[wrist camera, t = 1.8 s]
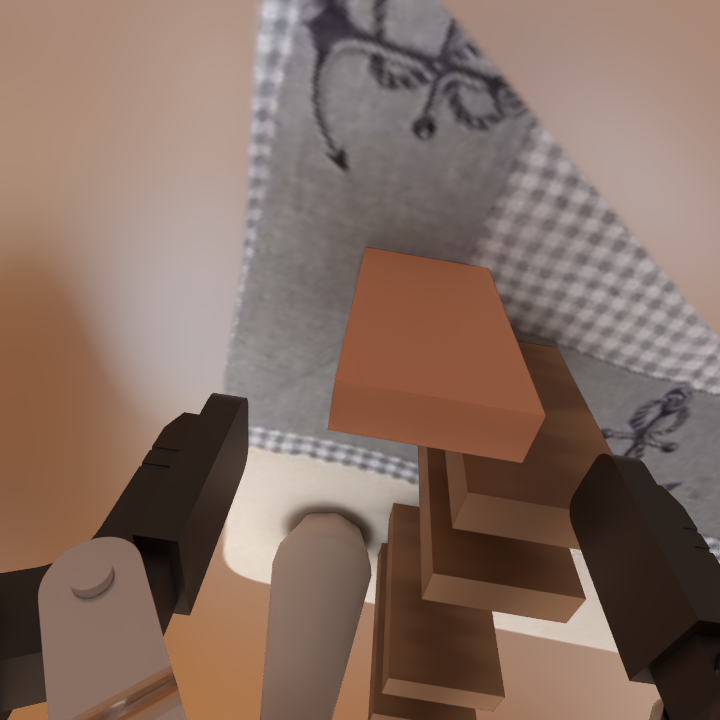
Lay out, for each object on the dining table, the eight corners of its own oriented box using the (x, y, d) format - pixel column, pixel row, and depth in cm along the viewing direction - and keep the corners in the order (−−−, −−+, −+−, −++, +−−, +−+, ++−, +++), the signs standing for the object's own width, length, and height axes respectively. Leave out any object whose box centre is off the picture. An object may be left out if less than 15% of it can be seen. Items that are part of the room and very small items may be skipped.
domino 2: (557, 347, 20) (648, 523, 12) (543, 376, 21) (620, 556, 13) (445, 328, 20) (468, 492, 12) (436, 358, 20) (452, 527, 13)
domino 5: (459, 556, 29) (477, 730, 21) (452, 570, 29) (468, 742, 22) (381, 543, 29) (372, 713, 21) (377, 557, 29) (367, 725, 22)
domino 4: (477, 517, 26) (505, 697, 19) (469, 533, 27) (493, 711, 20) (393, 503, 26) (388, 677, 19) (388, 520, 27) (381, 693, 20)
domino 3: (525, 415, 22) (585, 598, 14) (514, 439, 23) (565, 623, 15) (424, 398, 22) (433, 573, 14) (417, 423, 23) (422, 599, 15)
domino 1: (488, 268, 18) (545, 415, 10) (476, 304, 19) (522, 462, 11) (365, 247, 18) (335, 379, 10) (359, 283, 19) (327, 429, 11)
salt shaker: (358, 567, 30) (330, 847, 19) (275, 546, 30) (201, 822, 19) (385, 516, 27) (371, 818, 16) (294, 492, 27) (216, 787, 16)
